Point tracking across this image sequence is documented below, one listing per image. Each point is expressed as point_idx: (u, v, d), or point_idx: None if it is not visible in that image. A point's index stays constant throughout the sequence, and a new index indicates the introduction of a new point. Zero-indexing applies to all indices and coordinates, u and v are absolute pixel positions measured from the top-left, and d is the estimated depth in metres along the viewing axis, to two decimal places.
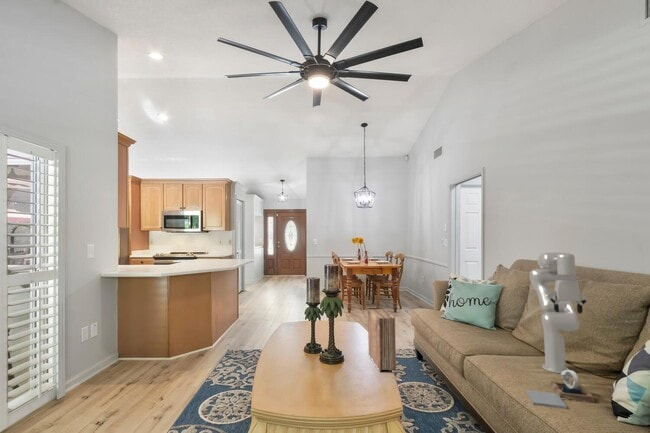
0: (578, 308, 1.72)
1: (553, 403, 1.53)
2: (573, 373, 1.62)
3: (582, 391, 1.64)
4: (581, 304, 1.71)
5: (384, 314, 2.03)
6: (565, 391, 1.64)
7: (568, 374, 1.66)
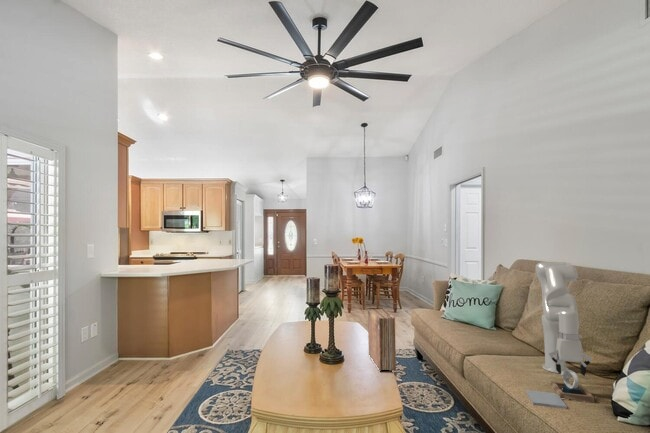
0: (581, 369, 1.63)
1: (553, 403, 1.53)
2: (573, 373, 1.62)
3: (582, 391, 1.64)
4: (584, 365, 1.61)
5: (384, 314, 2.03)
6: (565, 391, 1.64)
7: (568, 374, 1.66)
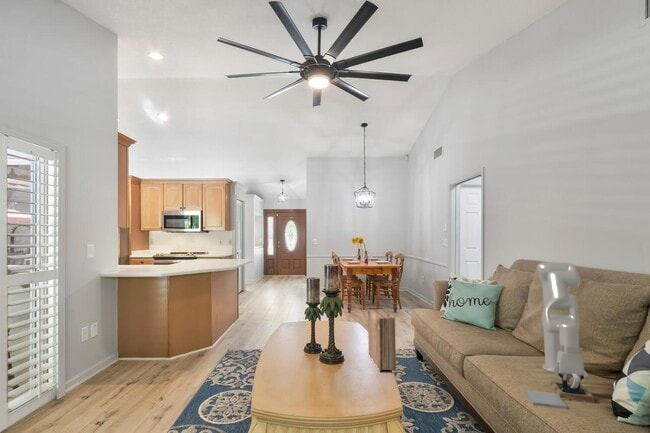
0: None
1: (553, 403, 1.53)
2: None
3: (582, 391, 1.64)
4: (579, 380, 1.62)
5: (384, 314, 2.03)
6: (565, 390, 1.64)
7: (569, 374, 1.66)
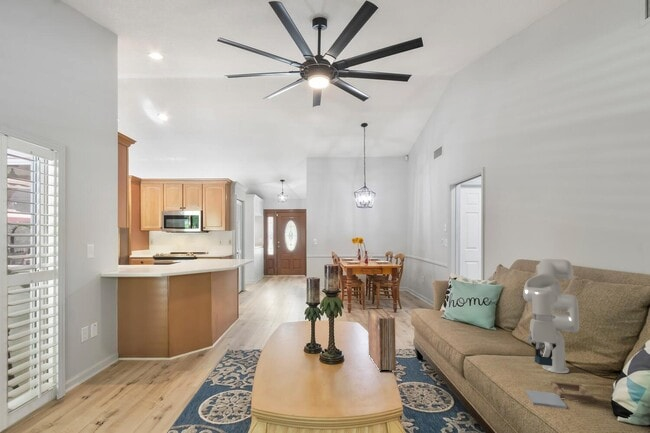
0: None
1: (553, 403, 1.53)
2: None
3: (582, 391, 1.64)
4: (551, 348, 1.58)
5: (384, 314, 2.03)
6: (536, 359, 1.60)
7: (542, 343, 1.62)
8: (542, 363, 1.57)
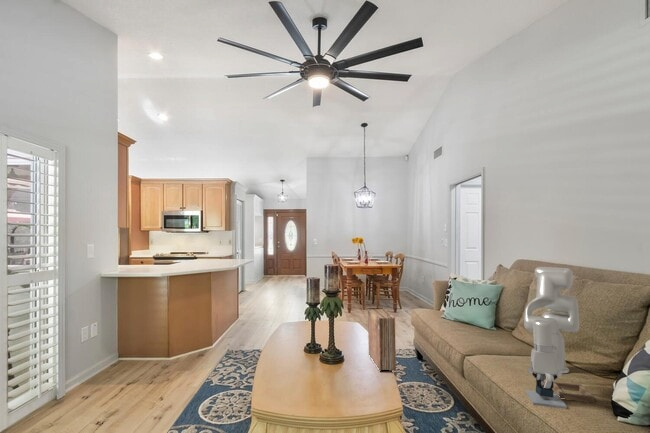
0: None
1: (553, 403, 1.53)
2: None
3: (582, 391, 1.64)
4: (552, 380, 1.57)
5: (384, 314, 2.03)
6: (537, 390, 1.59)
7: (543, 374, 1.61)
8: (543, 394, 1.57)
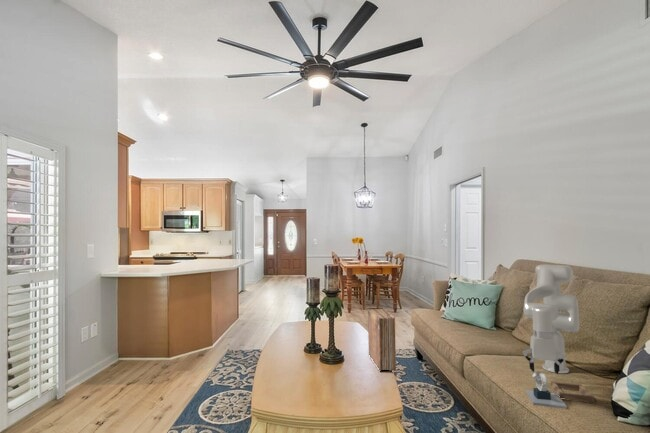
0: (555, 367, 1.58)
1: (553, 403, 1.53)
2: (542, 375, 1.58)
3: (582, 391, 1.64)
4: (558, 363, 1.57)
5: (384, 314, 2.03)
6: (535, 393, 1.60)
7: (539, 376, 1.61)
8: (540, 397, 1.57)
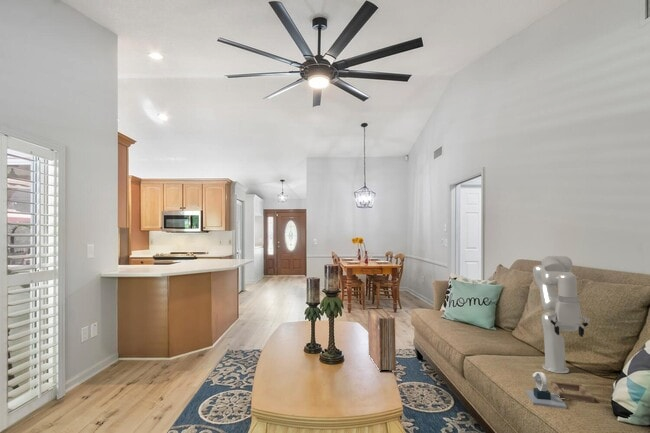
0: (579, 331, 1.66)
1: (553, 403, 1.53)
2: (542, 375, 1.58)
3: (582, 391, 1.64)
4: (583, 327, 1.65)
5: (384, 314, 2.03)
6: (535, 393, 1.60)
7: (539, 376, 1.61)
8: (540, 397, 1.57)
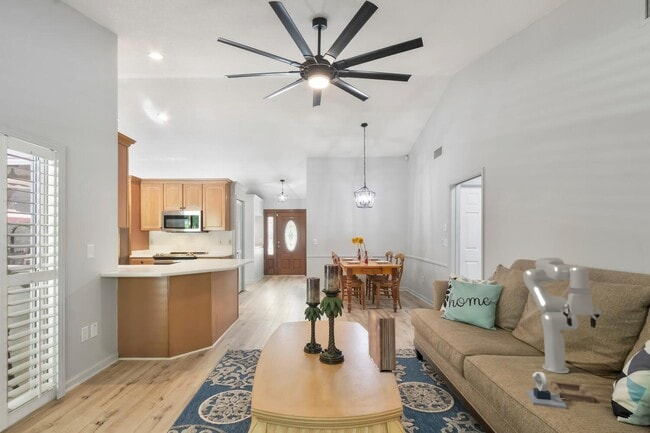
0: (591, 322, 1.70)
1: (553, 403, 1.53)
2: (542, 375, 1.58)
3: (582, 391, 1.64)
4: (595, 318, 1.68)
5: (384, 314, 2.03)
6: (535, 393, 1.60)
7: (539, 376, 1.61)
8: (540, 397, 1.57)
